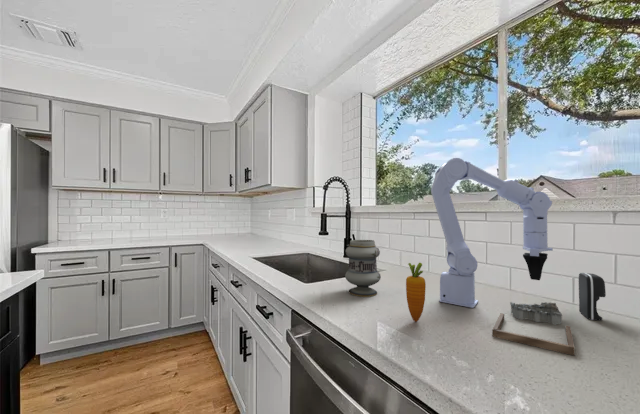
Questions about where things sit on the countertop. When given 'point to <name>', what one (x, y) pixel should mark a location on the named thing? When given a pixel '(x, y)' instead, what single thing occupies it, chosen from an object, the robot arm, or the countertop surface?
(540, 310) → the egg carton
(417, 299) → the carrot
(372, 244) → the apothecary jar
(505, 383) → the countertop surface
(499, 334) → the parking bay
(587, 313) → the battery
